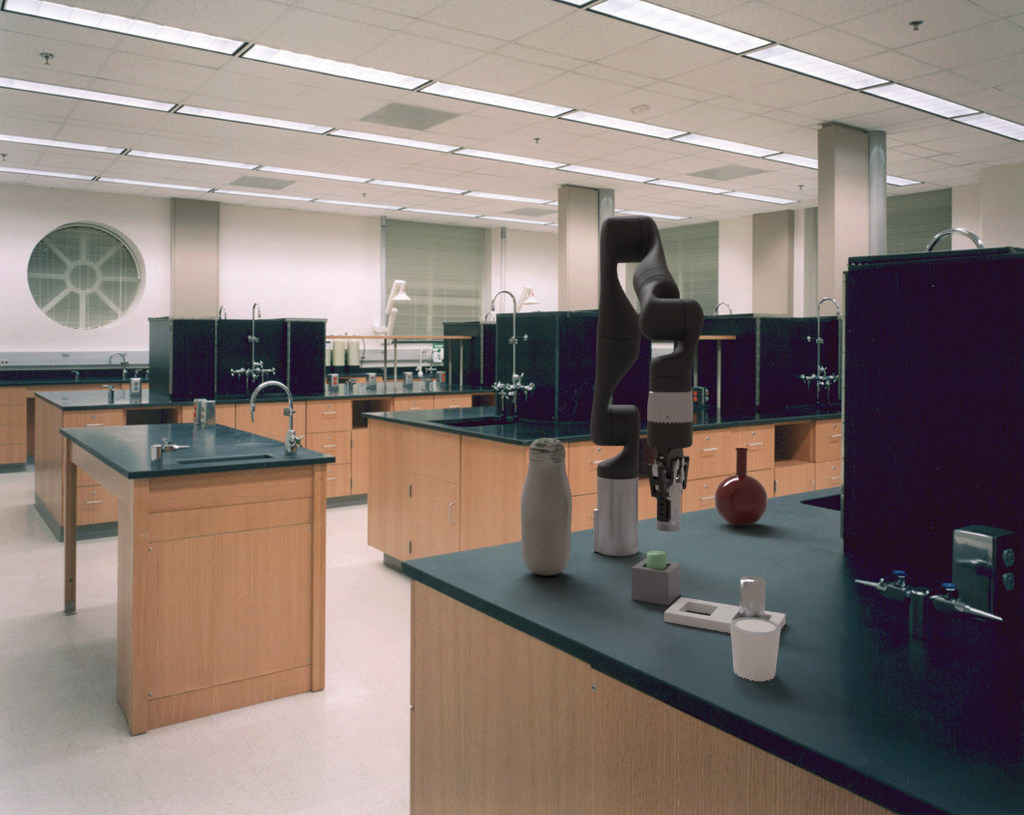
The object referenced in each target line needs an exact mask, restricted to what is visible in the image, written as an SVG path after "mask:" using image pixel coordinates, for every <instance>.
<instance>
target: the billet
mask: <svg viewBox="0 0 1024 815" xmlns="http://www.w3.org/2000/svg"><path fill="white" fill-rule="evenodd" d="M666 481H669V480H666ZM661 490H662V489H661ZM681 507H682V495H681V482H679V481H676V485H675V486H674V487H672V497H671V520H670V521H669V522H660V521H658V520H657V519H656V530H658V531H661V532H669V533H671V532H672V533H673V532H678V531H681V529H682V528H681V526H682V525H681V524H682V523H681V522H682V521H681V520H682V519H681V518H682V517H681V516H682V515H681V514H682V513H681V510H682V508H681Z"/></svg>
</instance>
